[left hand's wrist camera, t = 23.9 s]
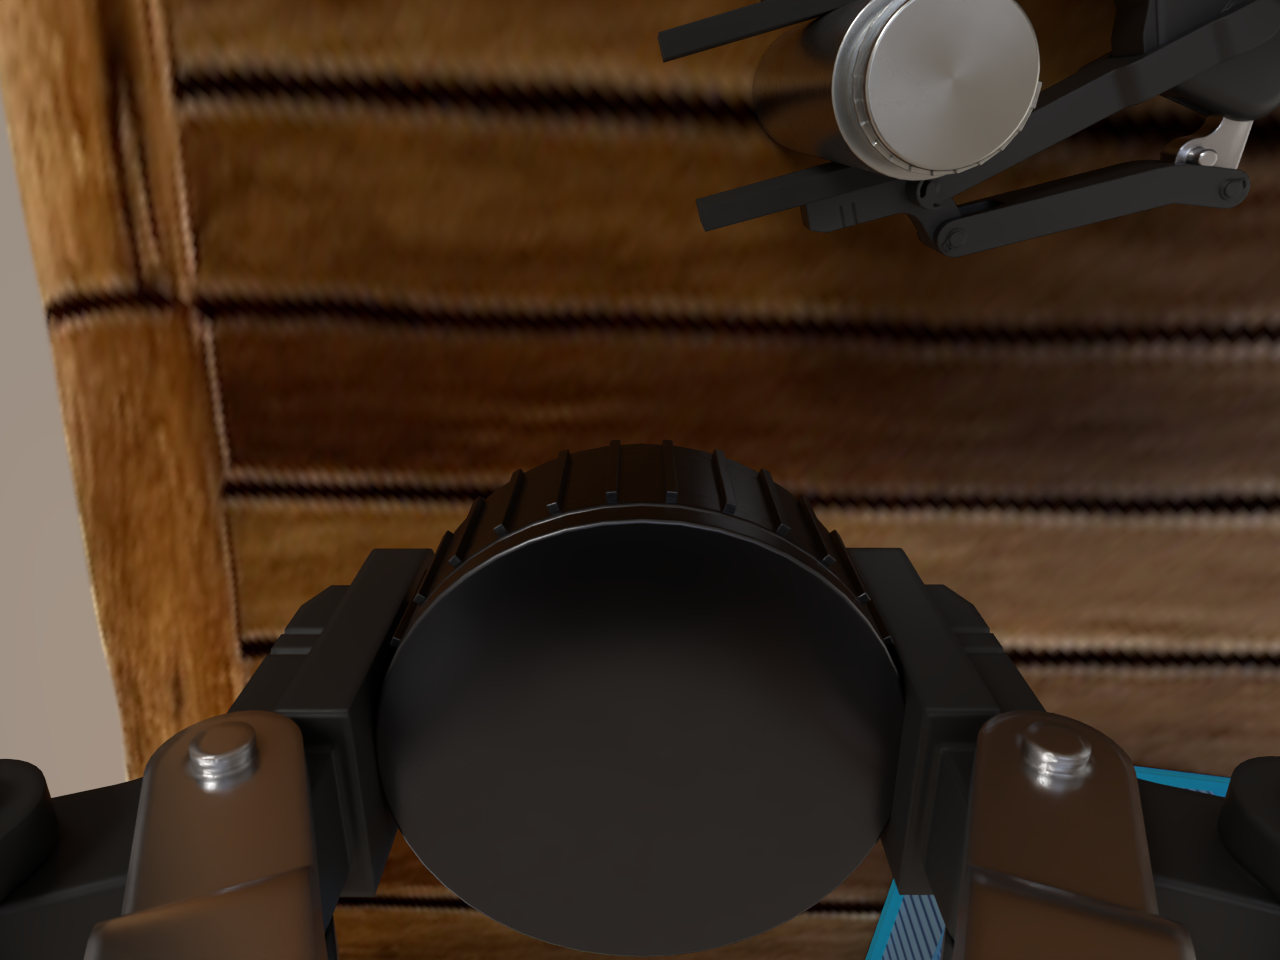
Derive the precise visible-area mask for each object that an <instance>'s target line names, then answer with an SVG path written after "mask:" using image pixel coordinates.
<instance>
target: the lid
mask: <svg viewBox="0 0 1280 960" xmlns="http://www.w3.org/2000/svg"><path fill="white" fill-rule="evenodd" d="M893 644H894V643H893V640H892V638H891V635H890V633H889V631H888V629H887V627H886V625H885V623H884V621H883V619H882V617H881V615H880V613H879V611H878V609H877V607H876V605H875V603H874V601H873V599H872V597H871V595H870V593H869V590H868V588H867V586H866V584H865V582H864V580H863V578H862V576H861V574H860V572H859V570H858V569H856V568H855V566H854V564H853V562H852V560H851V558H850V556H849V554H848V552H847V550H846V548H845V546H844V544H843V541H842V539H841V537H840V535H839V534H838V533H837V531H836V530H834V531H832V532H830V533H829V532H828V530H827V529H826V528H825V527H824V526H823V525H822V523H821V522H820V521H819V520H818V519H817V517H816V515H815V513H814V511H813V509H812V506H811V504H810V502H809V500H808V499H806V498H805V497H804V496H802V497H801V498H800V499H799V500H798V499H797V498H795V497H794V496H793V495H792V494H791V493H790V492H788V491H787V490H786V489H784V488H783V487H781V486H780V485H778V484H776V483H775V482H773V480H772V477H771V474H770V472H769V471H767V470H765V469H763V468H762V469H761V470H760V472H756V471H754V470H752V469H750V468H748V467H746V466H744V465H741V464H739V463H737V462H735V461H733V460H729V459H726V458H725V456H724V452H723V451H720V450H716V449H715V450H714V452H713V454H711V453H708V452H704V451H699V450H694V449H688V448H683V447H678V446H673V441H672V440H663V442H662V445H654V444H629V445H620V440H612V441H610V446H606V447H600V448H595V449H590V450H585V451H579V452H576V453H573V454H570V453H569V450H564V451H561V452H559V456H558V458H557V459H554V460H551V461H548V462H546V463H544V464H542V465H540V466H538V467H536V468H534V469H532V470H529V471H527V472H525V473H523V471H522V470H521V469H519V470H517V471H515V472H513V474H512V477H511V480H510V482H509V483H507V484H506V485H504V486H502V487H501V488H499V489H498V490H496V491H495V492H494V493H493V494H492V495H490V496H489V497H488V498H487V499H486V500H484V499H482V498H481V497H478V498H477V499H476V500H475V501H474V502H473V505H472V507H471V509H470V511H469V514H468V516H467V518H466V519H465V520H464V522H463V523H462V524H461V525H460V526H459V527H458V528H457V530H456V531H455V532H454V534H453V533H451V532H450V531H447V532H446V533H445V535H444V536H443V538H442V540H441V542H440V544H439V546H438V549H437V551H436V553H435V555H434V557H433V559H432V561H431V563H430V566H429V568H428V570H426V569H425V571H424V573H423V575H422V577H421V579H420V581H419V583H418V586H417V588H416V590H415V592H414V594H413V596H412V598H411V600H410V602H409V604H408V607H407V609H406V611H405V613H404V615H403V617H402V619H401V621H400V623H399V625H398V628H397V630H396V632H395V634H394V636H393V638H392V641H391V643H390V645H391V646H393V647H396V648H397V650H396V652H395V654H394V657H393V659H392V661H391V663H390V665H389V668H388V670H387V672H386V674H385V678H384V681H383V685H382V689H381V692H380V696H379V700H378V703H377V712H376V722H375V731H374V734H375V750H376V763H377V768H378V773H379V777H380V782H381V786H382V791H383V794H384V796H385V799H386V801H387V804H388V807H389V809H390V812H391V814H392V817H393V819H394V821H395V822H396V824H397V826H398V828H399V830H400V831H401V833H402V835H403V837H404V838H405V840H406V842H407V843H408V845H409V846H410V847H411V849H412V850H413V851H414V853H415V854H416V855H417V857H418V858H419V859H420V860H421V862H422V863H423V864H424V866H425V867H426V868H427V869H428V870H429V871H430V872H431V873H432V874H433V875H434V876H435V877H436V878H437V879H438V880H439V881H440V882H441V883H442V884H443V885H444V886H445V887H447V888H448V889H449V890H450V891H452V892H453V893H454V894H455V895H457V896H458V897H459V898H460V899H462V900H463V901H464V902H466V903H467V904H468V905H470V906H471V907H473V908H475V909H476V910H478V911H479V912H481V913H483V914H484V915H486V916H487V917H489V918H491V919H492V920H494V921H496V922H498V923H500V924H502V925H505V926H507V927H509V928H511V929H513V930H515V931H517V932H519V933H521V934H524V935H527V936H530V937H533V938H536V939H538V940H541V941H544V942H547V943H550V944H554V945H558V946H562V947H566V948H570V949H574V950H578V951H584V952H591V953H598V954H605V955H614V956H636V957H649V956H668V955H679V954H685V953H692V952H699V951H705V950H709V949H713V948H717V947H721V946H725V945H729V944H733V943H736V942H739V941H742V940H745V939H748V938H750V937H753V936H756V935H759V934H762V933H764V932H766V931H768V930H770V929H772V928H775V927H777V926H779V925H781V924H783V923H785V922H787V921H789V920H791V919H793V918H794V917H796V916H798V915H799V914H801V913H802V912H804V911H806V910H807V909H809V908H810V907H812V906H814V905H815V904H817V903H818V902H819V901H820V900H822V899H823V898H824V897H825V896H827V895H828V894H829V893H831V892H832V891H833V890H834V889H836V888H837V887H838V886H839V885H840V884H841V883H842V882H843V881H844V880H845V879H846V878H847V877H848V876H849V875H850V874H851V873H852V872H853V871H854V870H855V869H856V868H857V867H858V866H859V865H860V864H861V863H862V861H863V860H864V859H865V857H866V856H867V855H868V853H869V852H870V851H871V849H872V848H873V847H874V845H875V844H876V843H877V841H878V840H879V838H880V836H881V834H882V833H883V831H884V829H885V827H886V826H887V824H888V822H889V820H890V818H891V812H892V805H893V798H894V790H895V782H896V775H897V767H898V760H899V752H900V744H901V737H902V729H903V722H904V714H905V703H906V701H905V694H904V691H903V687H902V683H901V680H900V676H899V673H898V671H897V669H896V666H895V664H894V662H893V660H892V658H891V655H890V653H889V651H888V649H887V647H888V646H890V645H893Z"/></svg>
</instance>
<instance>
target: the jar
mask: <svg viewBox="0 0 1280 960" xmlns="http://www.w3.org/2000/svg"><path fill="white" fill-rule="evenodd" d="M1039 72H1040V53H1039V45H1038V41H1037V37H1036V33H1035V30H1034V28H1033V25H1032V23H1031V21H1030V19H1029V17H1028V16H1027V14H1026V12H1025V11H1024V10H1023V8H1022V7H1021V6H1020V5H1019V3H1018V2H1017V1H1016V0H856V1H854V2H852V3H850V4H847V5H845V6H843V7H841V8H838V9H836V10H834V11H832V12H830V13H827V14H825V15H823V16H821V17H818V18H816V19H814V20H812V21H809V22H807V23H805V24H803V25H801V26H798V27H796V28H794V29H792V30H790V31H788V32H786V33H785V34H783V35H782V36H780V37H779V38H778V39H777V40H776V41H774V42H773V44H772V45H771V46H770V47H769V48H768V49H767V51H766V52H765V54H764V55H763V57H762V59H761V61H760V63H759V65H758V68H757V70H756V74H755V78H754V84H753V102H754V108H755V112H756V115H757V117H758V120H759V122H760V124H761V126H762V127H763V129H764V130H765V132H766V133H767V134H768V135H769V136H770V137H771V138H772V139H773V140H774V141H776V142H777V143H778V144H780V145H782V146H783V147H785V148H788V149H790V150H794V151H797V152H801V153H804V154H808V155H812V156H815V157H819V158H822V159H826V160H830V161H833V162H837V163H841V164H844V165H848V166H851V167H855V168H859V169H862V170H866V171H870V172H873V173H877V174H880V175H884V176H888V177H891V178H895V179H899V180H908V181H923V180H929V179H935V178H939V177H942V176H945V175H948V174H955V173H956V174H958V173H960V172H963V171H965V170H968V169H970V168H973V167H975V166H978V165H982V164H983V163H984V162H986V161H987V160H989V159H990V158H991V157H993V156H994V155H995V154H997V153H998V152H1000V151H1003V150H1004V148H1005V147H1006V146H1007V145H1008V144H1009V143H1010V141H1011V140H1012V139H1013V138H1014V137H1015V136H1016V135H1017V133H1018V132H1021V130H1022V129H1023V127H1024V125H1025V123H1026V121H1027V119H1028V117H1029V115H1030V114H1031V112H1032V110H1033V109H1034V108H1035V107H1036V103H1037V100H1038V96H1039V92H1040V89H1041V85H1042V82H1041V81H1038V80H1039Z"/></svg>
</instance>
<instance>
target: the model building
mask: <svg viewBox="0 0 1280 960" xmlns="http://www.w3.org/2000/svg"><path fill="white" fill-rule="evenodd" d="M1134 768H1135V771H1136V775H1137V778H1139V779H1143V780H1147V781H1151V782H1155V783H1159V784H1164V785H1169V786H1174V787H1178V788H1183V789H1188V790H1193V791H1197V792H1202V793H1207V794H1212V795H1217V796H1221V797H1225V796H1226V792H1227V789H1228V786H1229V783H1230V779H1231V778H1227V777H1219V776H1211V775H1203V774H1195V773H1187V772H1179V771H1171V770H1163V769H1155V768H1147V767H1139V766H1134ZM944 929H945V923H944V921H943V918H942V915H941V913H940V910H939V907H938V905H937V902H936V899H935V897H934V895H899V893H898V890H897V886H896V883H895V880H894V879H893V881H892V884H891V887H890V890H889V893H888V896H887V899H886V902H885V905H884V907H883V910H882V913H881V916H880V919H879V922H878V925H877V928H876V931H875V933H874V936H873V939H872V942H871V945H870V948H869V951H868V954H867V957H866V959H865V960H940V957H941V948H942V941H943V935H944Z"/></svg>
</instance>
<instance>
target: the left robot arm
mask: <svg viewBox="0 0 1280 960" xmlns="http://www.w3.org/2000/svg"><path fill="white" fill-rule="evenodd" d="M846 550H847V552H848V554H849V556H850V558H851V560H852V562H853V564H854V566H855V568H856V569H858V570H859V572H860V574H861V576H862V578H863V580H864V582H865V584H866V586H867V588H868V590H869V593H870V595H871V597H872V599H873V601H874V603H875V605H876V607H877V609H878V611H879V613H880V615H881V617H882V619H883V621H884V623H885V625H886V627H887V629H888V631H889V633H890V635H891V638H892V640H893V643H894V644H893V645H890V646H888V647H887V649H888V651H889V653H890V655H891V658H892V660H893V662H894V664H895V666H896V669H897V671H898V673H899V676H900V680H901V683H902V687H903V691H904V694H905V701H906V703H905V714H904V722H903V729H902V737H901V744H900V752H899V760H898V767H897V775H896V782H895V790H894V798H893V805H892V812H891V818H890V820H889V822H888V824H887V826H886V827H885V829H884V831H883V833H882V834H881V836H880V838H881V841H882V844H883V847H884V850H885V853H886V856H887V859H888V862H889V865H890V868H891V871H892V874H893V877H894V880H895V883H896V886H897V890H898V893H899V895H934V897H935V899H936V902H937V905H938V907H939V910H940V913H941V915H942V918H943V921H944V923H945V929H944V935H943V941H942V948H941V957H940V960H1280V757H1276V756H1267V757H1257V758H1253V759H1249V760H1247V761H1245V762H1243V763H1241V764H1239V765H1238V766H1237V767H1236V768H1235V769H1234V772H1233V774H1232V776H1231V779H1230V783H1229V786H1228V789H1227V792H1226V796H1225V797H1221V796H1217V795H1212V794H1207V793H1202V792H1197V791H1193V790H1188V789H1183V788H1178V787H1174V786H1169V785H1164V784H1159V783H1155V782H1151V781H1147V780H1143V779H1139V778H1137V775H1136V771H1135V768H1134V765H1133V763H1132V761H1131V760H1130V758H1129V756H1128V755H1127V754H1126V753H1125V752H1124V750H1123V749H1122V748H1121V747H1120V746H1119V745H1118V744H1116V743H1115V742H1114V741H1113V740H1112V739H1110V738H1109V737H1107V736H1106V735H1105V734H1103V733H1102V732H1100V731H1098V730H1096V729H1094V728H1093V727H1091V726H1089V725H1086V724H1084V723H1082V722H1080V721H1077V720H1074V719H1071V718H1069V717H1066V716H1062V715H1058V714H1054V713H1048V712H1046V710H1045V709H1044V707H1043V706H1042V704H1041V703H1040V702H1039V700H1038V699H1037V697H1036V696H1035V694H1034V693H1033V691H1032V690H1031V688H1030V687H1029V685H1028V684H1027V683H1026V681H1025V680H1024V678H1023V677H1022V675H1021V674H1020V672H1019V671H1018V669H1017V668H1016V666H1015V665H1014V664H1013V662H1012V661H1011V659H1010V658H1009V656H1008V655H1007V653H1003V647H1002V646H1001V644H1000V643H999V642H998V640H997V639H996V637H995V636H994V634H993V633H990V628H989V627H988V625H987V624H986V623H985V621H984V620H983V618H982V617H981V615H980V614H979V612H978V611H977V609H976V608H975V606H974V605H973V604H971V603H970V602H968V601H967V600H965V599H964V598H963V597H961V596H960V595H958V594H957V593H955V592H954V591H952V590H951V589H949V588H948V587H946V586H945V585H924V583H923V582H922V580H921V578H920V577H919V575H918V573H917V572H916V570H915V569H914V567H913V565H912V564H911V562H910V560H909V559H908V557H907V555H906V554H905V552H904V551H903V549H901V548H846ZM434 555H435V554H434V552H433V550H432V549H374V550H372V552H371V553H370V554H369V556H368V558H367V559H366V561H365V563H364V564H363V566H362V567H361V569H360V571H359V572H358V574H357V575H356V577H355V579H354V580H353V582H352V584H351V585H331V586H330V587H328V588H327V589H325V590H324V591H322V592H321V593H320V594H318V595H317V596H315V597H314V598H312V599H311V600H309V601H308V602H306V603H305V604H303V605H302V606H301V607H300V608H299V610H298V611H297V613H296V614H295V615H294V617H293V618H292V620H291V621H290V623H289V624H288V626H287V627H286V628H285V634H281V636H280V637H279V639H278V640H277V641H276V643H275V644H274V646H273V647H272V649H271V654H267V656H266V657H265V659H264V660H263V662H262V663H261V665H260V666H259V667H258V669H257V670H256V672H255V673H254V675H253V676H252V678H251V679H250V680H249V682H248V683H247V685H246V686H245V688H244V689H243V691H242V692H241V693H240V695H239V696H238V698H237V699H236V701H235V702H234V704H233V705H232V706H231V708H230V709H229V711H228V712H227V713H226V714H222V715H218V716H214V717H211V718H209V719H206V720H203V721H200V722H198V723H196V724H194V725H191V726H189V727H187V728H186V729H184V730H182V731H180V732H178V733H177V734H175V735H174V736H173V737H171V738H170V739H168V740H167V741H166V742H165V743H164V744H162V745H161V746H160V747H159V748H158V749H157V750H156V752H155V753H154V754H153V755H152V756H151V758H150V760H149V761H148V763H147V765H146V768H145V771H144V775H143V777H141V778H138V779H135V780H132V781H128V782H124V783H120V784H116V785H112V786H107V787H102V788H98V789H93V790H88V791H83V792H78V793H74V794H69V795H64V796H59V797H55V798H51V796H50V793H49V790H48V787H47V783H46V780H45V777H44V775H43V773H42V771H41V770H40V769H39V768H37V767H36V766H35V765H33V764H31V763H29V762H25V761H21V760H13V759H0V960H340V957H339V948H338V941H337V935H336V929H335V924H334V918H333V913H334V910H335V907H336V905H337V902H338V900H339V897H375V894H376V891H377V888H378V885H379V882H380V879H381V876H382V873H383V870H384V867H385V864H386V861H387V858H388V855H389V852H390V850H391V847H392V844H393V841H394V838H395V835H396V832H397V829H398V826H397V824H396V822H395V821H394V819H393V817H392V814H391V812H390V809H389V807H388V804H387V801H386V799H385V796H384V794H383V791H382V786H381V782H380V777H379V773H378V768H377V763H376V750H375V734H374V731H375V722H376V712H377V703H378V700H379V696H380V692H381V689H382V685H383V681H384V678H385V674H386V672H387V670H388V668H389V665H390V663H391V661H392V659H393V657H394V654H395V652H396V650H397V648H396V647H393V646H391V645H390V643H391V641H392V638H393V636H394V634H395V632H396V630H397V628H398V625H399V623H400V621H401V619H402V617H403V615H404V613H405V611H406V609H407V607H408V604H409V602H410V600H411V598H412V596H413V594H414V592H415V590H416V588H417V586H418V583H419V581H420V579H421V577H422V575H423V573H424V571H425V569H426V570H428V568H429V566H430V563H431V561H432V559H433V557H434Z"/></svg>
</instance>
